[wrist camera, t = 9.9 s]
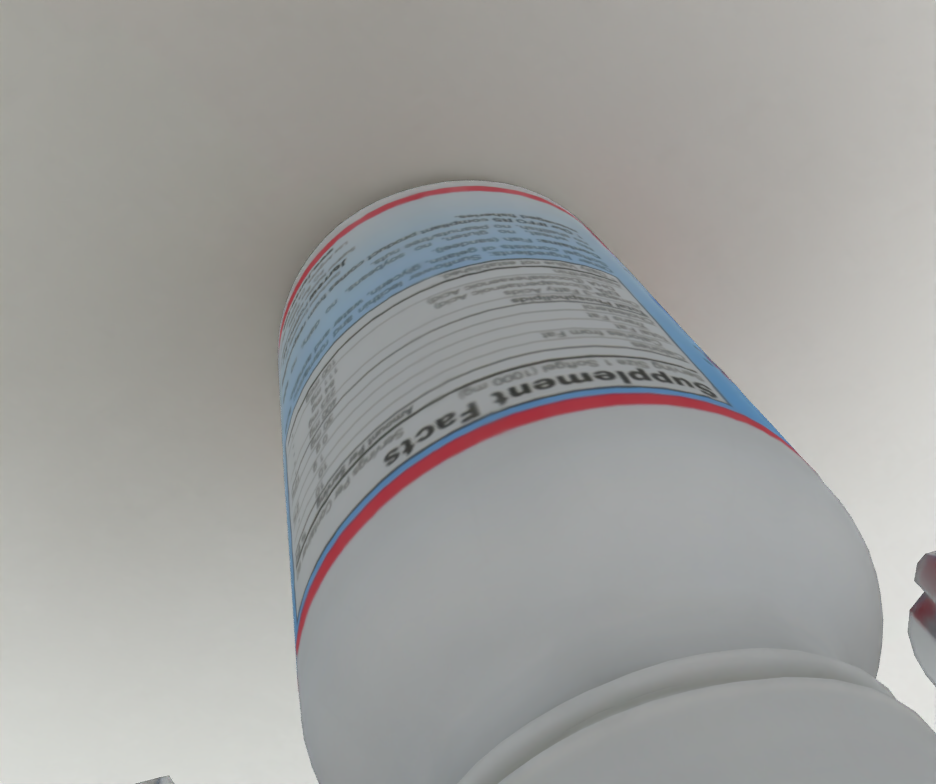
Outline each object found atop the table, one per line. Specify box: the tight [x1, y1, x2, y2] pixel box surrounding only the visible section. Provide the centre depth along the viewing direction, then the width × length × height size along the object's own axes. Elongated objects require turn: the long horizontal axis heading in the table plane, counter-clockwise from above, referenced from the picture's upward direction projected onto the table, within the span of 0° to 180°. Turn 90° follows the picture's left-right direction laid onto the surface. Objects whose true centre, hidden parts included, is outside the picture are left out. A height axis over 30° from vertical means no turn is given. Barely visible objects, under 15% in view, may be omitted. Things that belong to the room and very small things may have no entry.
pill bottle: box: [278, 180, 936, 784], centre depth 11 cm, size 6×6×11 cm
